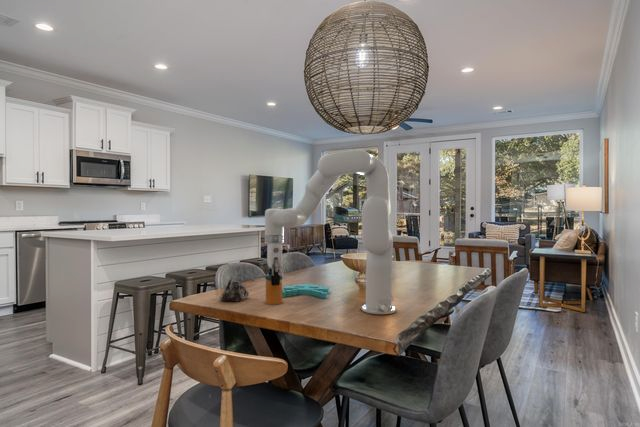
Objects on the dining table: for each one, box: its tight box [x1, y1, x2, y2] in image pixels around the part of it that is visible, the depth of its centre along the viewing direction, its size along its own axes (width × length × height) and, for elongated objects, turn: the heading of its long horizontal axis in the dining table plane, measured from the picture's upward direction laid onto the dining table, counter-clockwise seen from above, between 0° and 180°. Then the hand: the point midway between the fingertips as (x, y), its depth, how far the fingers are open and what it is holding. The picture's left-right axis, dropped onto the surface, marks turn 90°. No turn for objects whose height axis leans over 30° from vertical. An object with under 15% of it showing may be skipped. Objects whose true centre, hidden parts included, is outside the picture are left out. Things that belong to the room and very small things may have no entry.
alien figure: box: [282, 283, 330, 299], centre depth 184 cm, size 20×2×20 cm
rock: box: [219, 278, 250, 302], centre depth 169 cm, size 13×10×10 cm
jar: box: [265, 279, 283, 305], centre depth 165 cm, size 7×7×10 cm
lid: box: [264, 273, 284, 281], centre depth 165 cm, size 7×7×2 cm
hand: (273, 283), depth 165 cm, fingers open, 7 cm apart
